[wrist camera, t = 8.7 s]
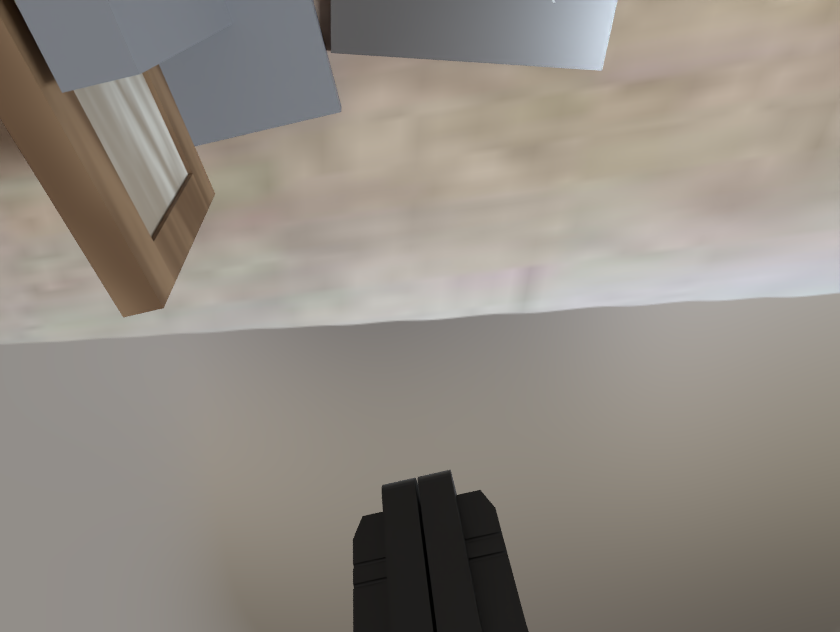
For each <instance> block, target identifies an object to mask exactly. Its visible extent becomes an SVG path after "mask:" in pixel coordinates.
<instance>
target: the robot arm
mask: <svg viewBox="0 0 840 632" xmlns="http://www.w3.org/2000/svg"><path fill="white" fill-rule="evenodd" d="M382 504H383V512H379V513H375V514H371V515H366V516H363V517H362V519H361V521H360V524H359V526H358V528H357V531H356V533H355V536H354V538H353V565H354V569H353V585H354V589H353V625H354V626H353V632H528V628H527V625H526V622H525V618H524V614H523V611H522V607H521V604H520V599H519V596H518V592H517V588H516V584H515V580H514V577H513V573H512V569H511V566H510V562H509V558H508V555H507V550H506V547H505V543H504V539H503V536H502V532H501V528H500V524H499V521H498V517H497V513H496V509H495V507H494V506H493V505H492V503H491V502H490V501H489V500H488V499H487V498H486V496H485V495H484V494H483V493H482V492H481V490H478V491H473V492H469V493H464V494H460V495H457V494H456V490H455V486H454V481H453V478H452V474H451V470H447V471H443V472H438V473H434V474H429V475H425V476H420V477H418V483H417V480H416V478H412V479H407V480H403V481H398V482H394V483H389V484H385V485H382Z"/></svg>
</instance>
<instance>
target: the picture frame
mask: <svg viewBox="0 0 840 632" xmlns="http://www.w3.org/2000/svg"><path fill="white" fill-rule="evenodd" d="M0 119H1V121H2V122H3V124H4V125H5V127H6V129H7V130H8V132H9V133H10V135H11V137H12V138H13V140H14V142H15V143H16V145H17V146H18V148H19V150H20V151H21V153H22V154H23V156H24V158H25V159H26V161H27V163H28V164H29V166H30V167H31V169H32V171H33V172H34V174H35V175H36V177H37V179H38V180H39V182H40V184H41V185H42V187H43V188H44V190H45V192H46V193H47V195H48V196H49V198H50V200H51V201H52V203H53V205H54V206H55V208H56V209H57V211H58V213H59V214H60V216H61V217H62V219H63V221H64V222H65V224H66V226H67V227H68V229H69V230H70V232H71V234H72V235H73V237H74V238H75V240H76V242H77V243H78V245H79V247H80V248H81V250H82V251H83V253H84V255H85V256H86V258H87V259H88V261H89V263H90V264H91V266H92V268H93V269H94V271H95V272H96V274H97V276H98V277H99V279H100V280H101V282H102V284H103V285H104V287H105V289H106V290H107V292H108V293H109V295H110V297H111V298H112V300H113V301H114V303H115V305H116V306H117V308H118V310H119V311H120V313H121V314H122V316H123V317H127V316H131V315H136V314H140V313H144V312H149V311H153V310H158V309H162V308H164V306H165V304H166V301H167V299H168V297H169V295H170V293H171V290H172V288H173V286H174V284H175V281H176V279H177V277H178V275H179V273H180V270H181V268H182V266H183V264H184V262H185V259H186V257H187V255H188V253H189V250H190V248H191V246H192V244H193V242H194V239H195V237H196V235H197V233H198V231H199V228H200V226H201V224H202V222H203V219H204V217H205V215H206V213H207V211H208V208H209V206H210V204H211V202H212V200H213V197H214V195H215V193H214V190H213V188H212V186H211V183H210V181H209V179H208V176H207V174H206V172H205V169H204V167H203V165H202V163H201V160H200V158H199V156H198V153H197V151H196V149H195V146H194V144H193V142H192V140H191V137H190V135H189V133H188V130H187V128H186V126H185V123H184V121H183V119H182V117H181V114H180V112H179V110H178V107H177V105H176V103H175V100H174V98H173V96H172V93H171V91H170V89H169V87H168V84H167V82H166V80H165V77H164V75H163V73H162V70H161V68H160V66H159V64H158V65H156V66H154V67H152V68H151V69H149V70H147V71H145V72H143V73H141V74H139V75H135V76H131V77H127V78H122V79H118V80H114V81H110V82H106V83H101V84H97V85H93V86H89V87H85V88H80V89H76V90H72V91H68V92H64V93H62V92H61V90H60V88H59V86H58V84H57V82H56V80H55V78H54V76H53V74H52V72H51V70H50V68H49V66H48V65H47V63H46V61H45V59H44V57H43V55H42V53H41V51H40V49H39V47H38V45H37V43H36V41H35V39H34V37H33V35H32V33H31V31H30V30H29V28H28V26H27V24H26V22H25V20H24V18H23V16H22V14H21V12H20V10H19V9H18V7H17V5H16V3H15V1H14V0H0Z"/></svg>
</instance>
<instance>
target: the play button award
mask: <svg viewBox="0 0 840 632" xmlns="http://www.w3.org/2000/svg"><path fill="white" fill-rule="evenodd" d="M616 5H617V0H331V53H340V54H356V55H371V56H387V57H402V58H417V59H433V60H448V61H464V62H479V63H494V64H510V65H525V66H541V67H556V68H571V69H587V70H602V68H603V64H604V59H605V54H606V50H607V45H608V41H609V36H610V32H611V27H612V23H613V18H614V14H615V9H616Z"/></svg>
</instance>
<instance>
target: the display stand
mask: <svg viewBox="0 0 840 632" xmlns="http://www.w3.org/2000/svg"><path fill="white" fill-rule="evenodd" d="M14 1H15V3H16V5H17V7H18V9H19V10H20V12H21V14H22V16H23V18H24V20H25V22H26V24H27V26H28V28H29V30H30V31H31V33H32V35H33V37H34V39H35V41H36V43H37V45H38V47H39V49H40V51H41V53H42V55H43V57H44V59H45V61H46V63H47V65H48V66H49V68H50V70H51V72H52V74H53V76H54V78H55V80H56V82H57V84H58V86H59V88H60V90H61V92H62V93H64V92H68V91H72V90H76V89H80V88H85V87H89V86H93V85H97V84H101V83H106V82H110V81H114V80H118V79H122V78H127V77H131V76H135V75H139V74H141V73H143V72H145V71H147V70H149V69H151V68H152V67H154V66H156V65H158V64H159V66H160V68H161V70H162V73H163V75H164V77H165V80H166V82H167V84H168V87H169V89H170V91H171V93H172V96H173V98H174V100H175V103H176V105H177V107H178V110H179V112H180V114H181V117H182V119H183V121H184V123H185V126H186V128H187V130H188V133H189V135H190V137H191V140H192V142H193V144H194V146H198V145H202V144H207V143H211V142H215V141H219V140H224V139H228V138H232V137H236V136H241V135H245V134H249V133H253V132H258V131H262V130H266V129H270V128H275V127H279V126H283V125H287V124H292V123H296V122H300V121H304V120H309V119H313V118H317V117H321V116H326V115H330V114H334V113H338V112H341V104H340V100H339V96H338V92H337V89H336V85H335V81H334V77H333V74H332V70H331V66H330V62H329V59H328V55H327V51H326V47H325V44H324V40H323V36H322V32H321V29H320V25H319V21H318V17H317V13H316V10H315V6H314V2H313V0H14Z"/></svg>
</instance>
